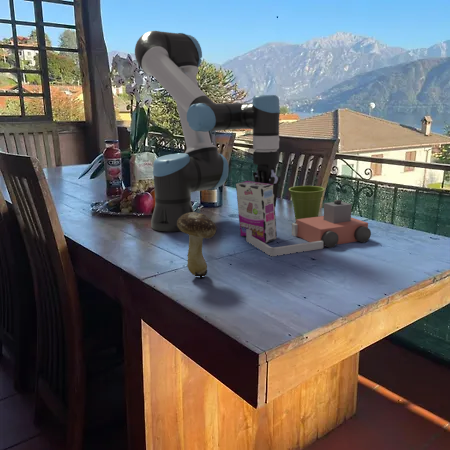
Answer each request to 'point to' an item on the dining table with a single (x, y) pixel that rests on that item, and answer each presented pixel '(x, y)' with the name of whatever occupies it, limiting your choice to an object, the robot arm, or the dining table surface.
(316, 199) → the plant pot
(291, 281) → the dining table surface
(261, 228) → the candy bar box
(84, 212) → the dining table surface
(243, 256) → the dining table surface
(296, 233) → the toy tractor
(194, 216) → the mushroom
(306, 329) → the dining table surface
